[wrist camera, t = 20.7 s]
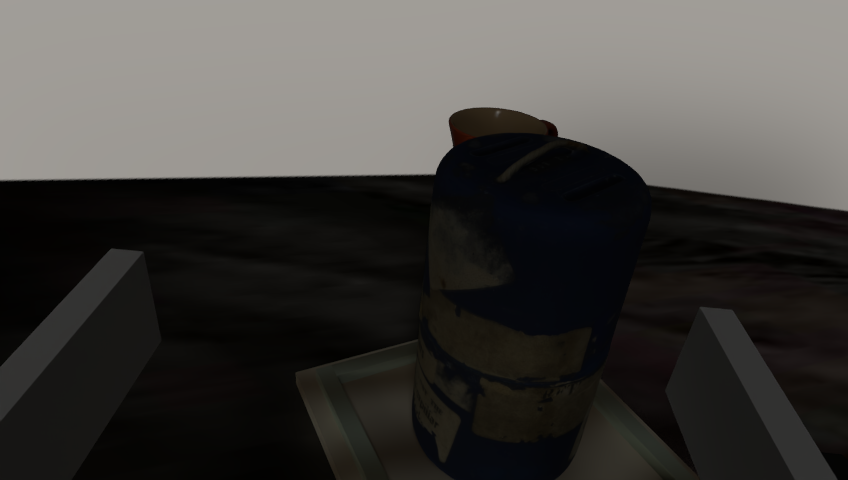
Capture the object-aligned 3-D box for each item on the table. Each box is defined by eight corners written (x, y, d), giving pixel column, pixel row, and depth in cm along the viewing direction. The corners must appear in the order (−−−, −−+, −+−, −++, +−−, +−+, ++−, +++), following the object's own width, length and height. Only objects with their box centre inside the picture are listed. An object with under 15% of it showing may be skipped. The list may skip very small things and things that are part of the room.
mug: (478, 258, 52) (494, 149, 47) (421, 215, 58) (429, 115, 53) (571, 226, 58) (594, 127, 53) (511, 190, 64) (526, 98, 59)
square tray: (296, 384, 38) (295, 363, 37) (528, 319, 45) (532, 300, 44) (420, 679, 24) (423, 658, 23) (722, 518, 32) (733, 497, 31)
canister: (382, 402, 36) (396, 113, 26) (511, 359, 40) (563, 96, 30) (464, 539, 29) (524, 210, 19) (611, 469, 33) (718, 170, 23)
